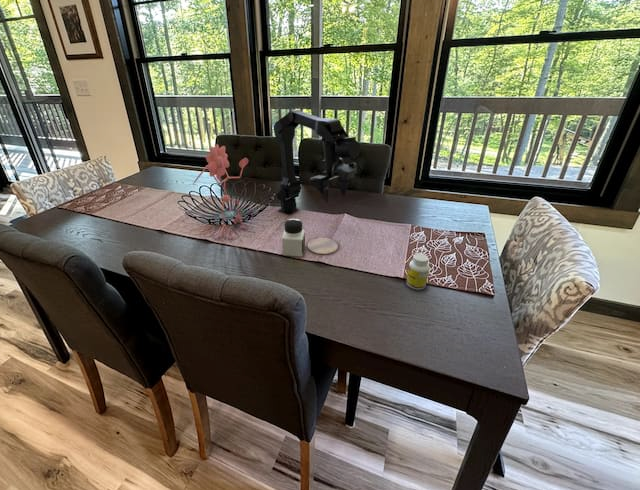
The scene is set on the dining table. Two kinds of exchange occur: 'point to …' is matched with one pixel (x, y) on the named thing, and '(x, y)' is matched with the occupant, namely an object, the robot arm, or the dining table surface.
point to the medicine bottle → (293, 238)
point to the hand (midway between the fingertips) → (335, 198)
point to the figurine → (217, 168)
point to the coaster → (322, 246)
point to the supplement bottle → (418, 272)
